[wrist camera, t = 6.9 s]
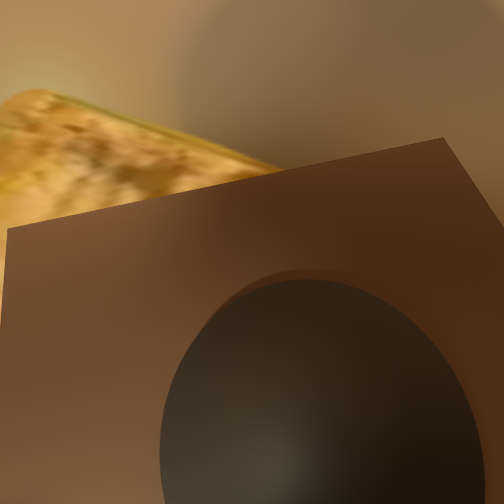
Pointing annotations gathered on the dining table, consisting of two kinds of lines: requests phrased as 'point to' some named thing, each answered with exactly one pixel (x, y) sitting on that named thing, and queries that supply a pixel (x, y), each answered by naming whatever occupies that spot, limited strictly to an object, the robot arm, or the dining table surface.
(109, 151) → the dining table surface
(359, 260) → the block
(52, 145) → the dining table surface
